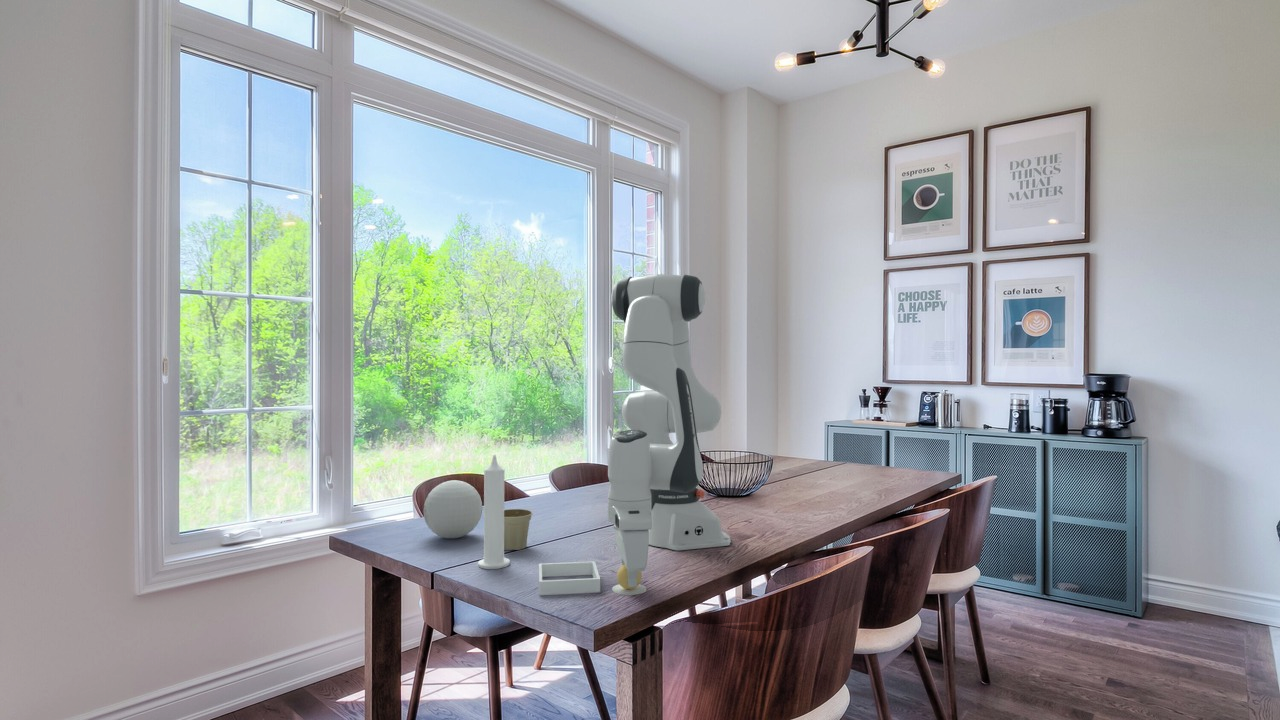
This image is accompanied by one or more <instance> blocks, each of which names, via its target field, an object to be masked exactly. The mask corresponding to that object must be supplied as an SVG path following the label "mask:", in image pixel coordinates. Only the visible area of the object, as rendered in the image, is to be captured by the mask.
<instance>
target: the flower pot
mask: <svg viewBox="0 0 1280 720" xmlns="http://www.w3.org/2000/svg"><path fill="white" fill-rule="evenodd" d="M533 513H534V512H533V511H532V510H530V509H525V508H508V509H504V551H512V550H515V551H520V550H523V549H525V548H526V547H527V545H528V537H529V536H528V535H529V529H530V521H531V519H532V515H533Z"/></svg>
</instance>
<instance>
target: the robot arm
mask: <svg viewBox="0 0 1280 720" xmlns="http://www.w3.org/2000/svg"><path fill="white" fill-rule="evenodd" d="M610 299H611V300H610V301H611V306H612V309H613V313H614V315H615V316H616V317H617V318H618V319H619V320H620V321H623V322H624V330H623V337H622V338H623V339H622V365H623V368H624V370H625V372H626V375H628V377H629V378H630V379H631V380H633V382H635V383H637V384H639V385H640V386H643V387H645V388H648V390H641V391H635V392H631V393H629V394H628V395H627V396H626V397H625V399H624V401H623V403H622V407H621V416H622V419H623V422H624V424H625V425H626V427H627V428H628V429H626V430H621V431H617V432H615V433H614V434H612V436H611V439H610V445H609V450H608V462H607V477H608V480H609V490H608V493H607V521H608V522H609V523H611V524H613V529H614V530H615V531H614V541H615V544H614V545H615V546H616V548H617V551H618V553H619V555H620V558H621V566H623V565H625V566H626V568H627V570H628V576H627V584H628V586H629V587H636V586H637V576H638V572H639V571H641V572H643V571H645V570H646V569H647V564H648V557H649V556H648V555H649V545H650V546H653V547H659V548H663V549H669V550H673V551H689V550H697V549H705V548H717V547H725V546H730V545H731V544H730V543H732V541H731V537H730V535H729V534H728V533H726V532H725V531H723V528H722V523H721V519H720V518H719V516H718V515H717V514H716V513H715V512H714V511H713V510H711V508H709V507H708V506H707V505H705V504H704V503H703V502H702V501H700V499H704V497H705V495H706V492H705V491H704V490H702V489H699V488H697V487H698V486H699V485H700V484H701V483H702V480H703V474H704V466H703V465H704V463H703V460H702V455H701V451H700V446H699V440H698V435H697V434H701V433H706V432H711V431H713V430H715V428H716V427H717V426H718V425H719V423H720V421H721V417H722V408H721V404H720V401H719V400H718V398H717V397H716V395H714V394H713V393H712V392H711V391H709V390H708V389H707V388H705V387H704V385H703V384H701V382H700V381H699V379H698V378H697V376H696V374H695V372H694V368H693V365H692V359H691V357H692V356H691V348H690V331H689V330H690V328H689V322H691V321H692V320H695V319H697V318H699V316H700V315H701V314H702V312H703V309H704V306H705V303H706V292H705V288H704V286H703V282H702V281H701V280H700V279H699V278H698V277H697V276H694V275H689V274H684V275H679V274H665V273H664V274H663V273H662V274H660V273H659V274H656V275H653V274H652V275H644V276H636V277H633V276H627V277H622V278H620V279H618V280H617V281H616V282H615V283H614V285H613V287H612V292H611V298H610ZM649 389H650V390H649ZM669 434H675V439H676V442H675V443H673V442H672V440H671V438H670V435H669Z"/></svg>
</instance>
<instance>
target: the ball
mask: <svg viewBox="0 0 1280 720" xmlns="http://www.w3.org/2000/svg"><path fill="white" fill-rule="evenodd" d="M616 573H617V574H616V577H617V578H616V579H617V583H618V584H620V585H621V586H622V587H623V588H625V589H634V588H636V587H637V586H638V585H639V584H641V582H642V580H643V579H642V578H643V577H642V571H639V572H638V576H637V586H636V587H629V586H628V584H627V576H628V570H627V568H626V566H625V565H623V566H622V565H621V566H620V567H619V569H618V570H617V572H616Z"/></svg>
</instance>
